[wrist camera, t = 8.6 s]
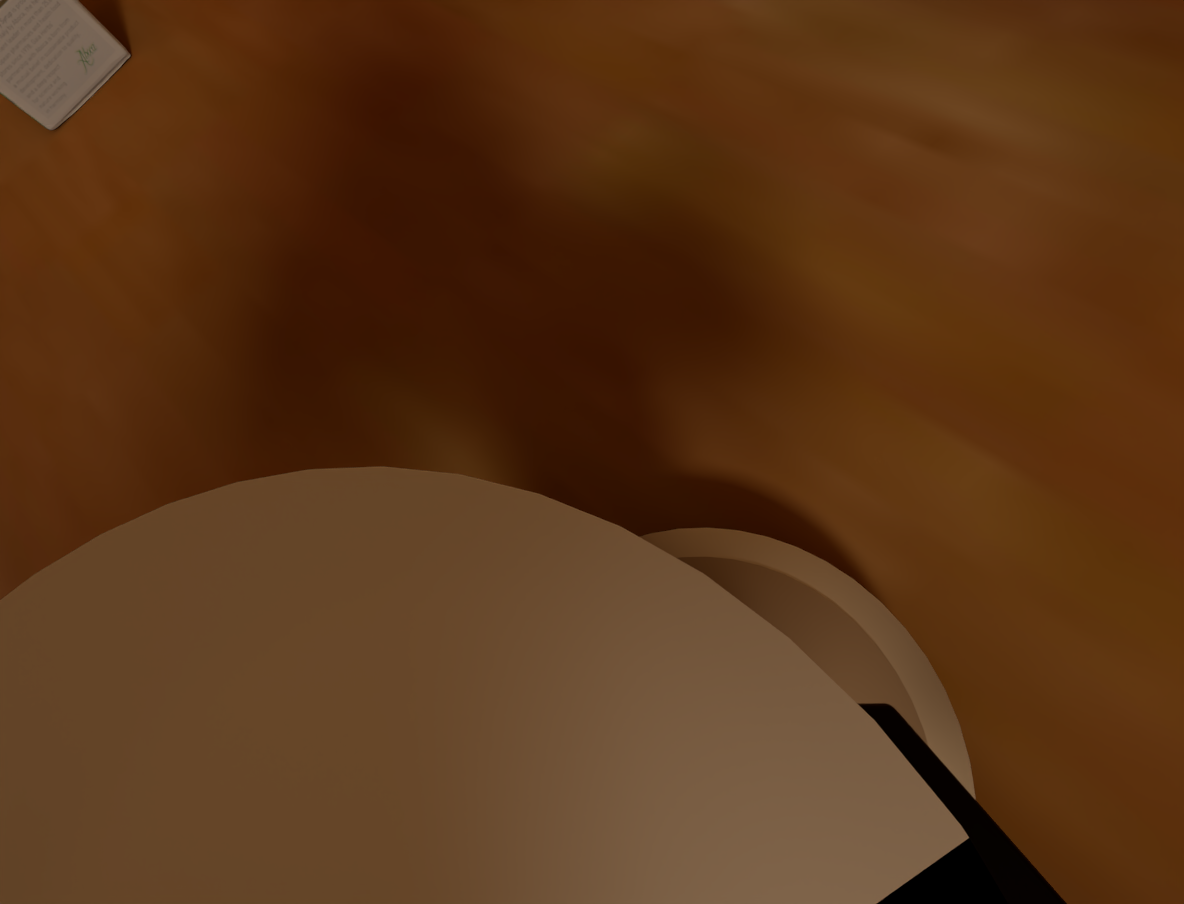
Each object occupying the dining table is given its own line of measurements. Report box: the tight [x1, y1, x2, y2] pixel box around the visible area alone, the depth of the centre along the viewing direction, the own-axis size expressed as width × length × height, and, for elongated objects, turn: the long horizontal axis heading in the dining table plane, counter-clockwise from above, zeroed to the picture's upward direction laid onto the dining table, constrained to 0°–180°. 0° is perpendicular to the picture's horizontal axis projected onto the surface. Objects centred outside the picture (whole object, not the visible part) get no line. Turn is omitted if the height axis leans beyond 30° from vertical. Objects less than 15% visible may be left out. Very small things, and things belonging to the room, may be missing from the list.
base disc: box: [640, 528, 976, 800], centre depth 18 cm, size 12×12×2 cm
